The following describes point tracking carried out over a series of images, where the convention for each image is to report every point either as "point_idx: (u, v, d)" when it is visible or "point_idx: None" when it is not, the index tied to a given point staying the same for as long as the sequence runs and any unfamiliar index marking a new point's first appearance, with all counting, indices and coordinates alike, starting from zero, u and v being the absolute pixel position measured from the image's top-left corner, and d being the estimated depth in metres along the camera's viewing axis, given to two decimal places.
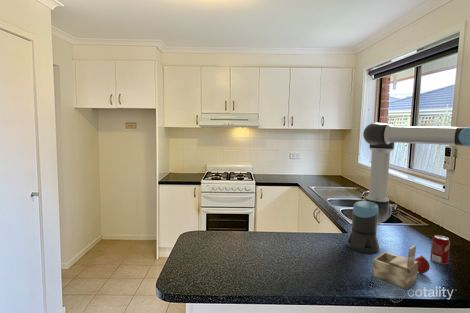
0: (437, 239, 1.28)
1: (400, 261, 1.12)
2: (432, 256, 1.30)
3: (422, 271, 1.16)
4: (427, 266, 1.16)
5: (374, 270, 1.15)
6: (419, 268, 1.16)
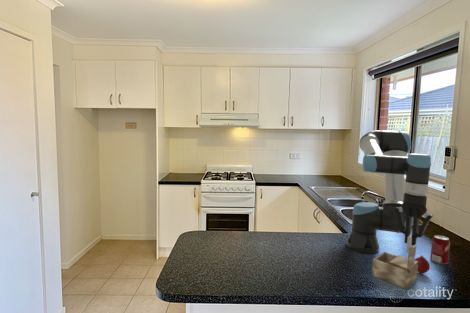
0: (437, 239, 1.28)
1: (400, 261, 1.12)
2: (432, 256, 1.30)
3: (422, 271, 1.16)
4: (427, 266, 1.16)
5: (374, 270, 1.15)
6: (419, 268, 1.16)
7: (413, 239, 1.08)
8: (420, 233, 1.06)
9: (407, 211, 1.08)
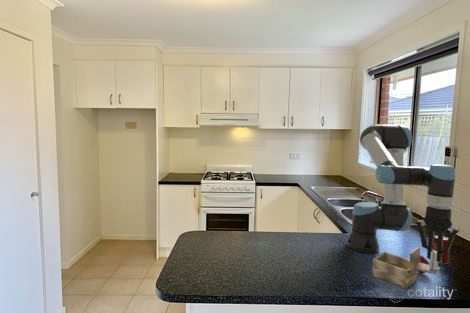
0: (437, 239, 1.28)
1: (415, 257, 1.08)
2: None
3: (422, 271, 1.16)
4: None
5: (374, 270, 1.15)
6: None
7: (438, 255, 1.02)
8: (446, 249, 1.00)
9: (430, 225, 1.03)
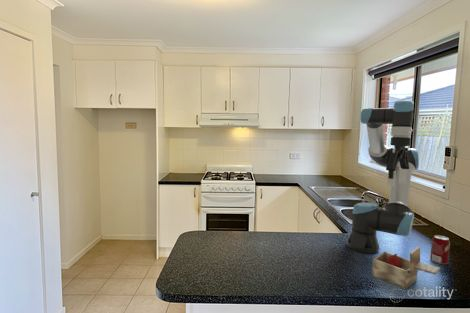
0: (437, 239, 1.28)
1: (415, 257, 1.08)
2: (432, 256, 1.30)
3: None
4: None
5: (374, 270, 1.15)
6: (400, 267, 1.14)
7: None
8: (408, 163, 1.28)
9: (402, 152, 1.20)
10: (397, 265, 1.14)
